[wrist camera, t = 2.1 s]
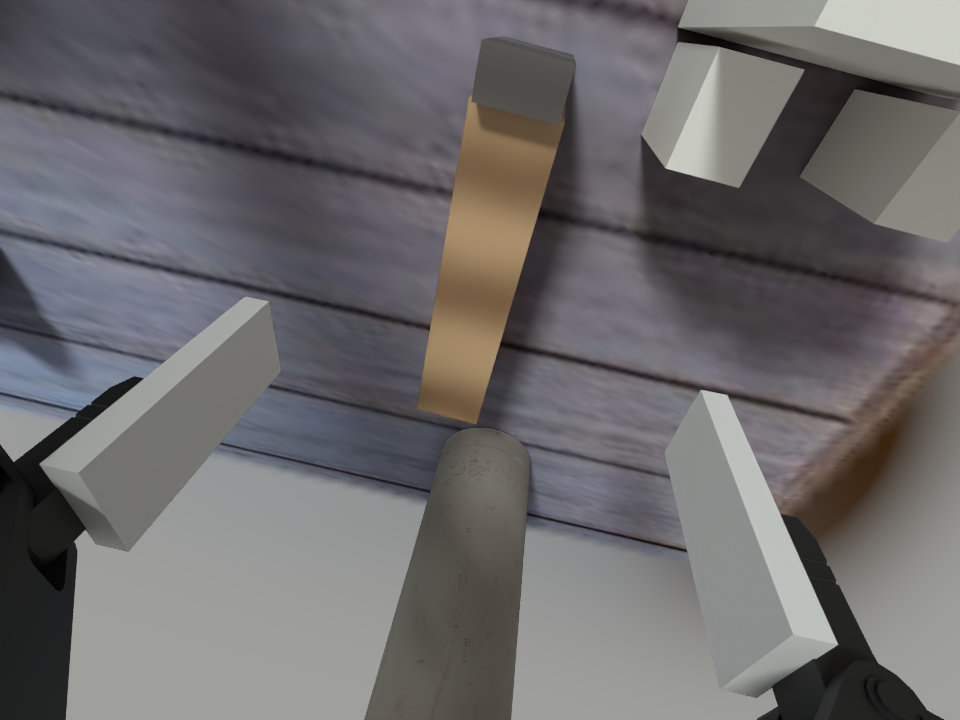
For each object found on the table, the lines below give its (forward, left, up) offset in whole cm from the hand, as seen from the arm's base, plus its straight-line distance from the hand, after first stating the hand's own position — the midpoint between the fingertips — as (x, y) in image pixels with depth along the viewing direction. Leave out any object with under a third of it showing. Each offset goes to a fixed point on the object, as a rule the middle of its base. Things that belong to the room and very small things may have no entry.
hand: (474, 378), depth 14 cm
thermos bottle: (+3, -22, -16) cm, 27 cm away
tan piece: (-1, -2, -16) cm, 16 cm away
